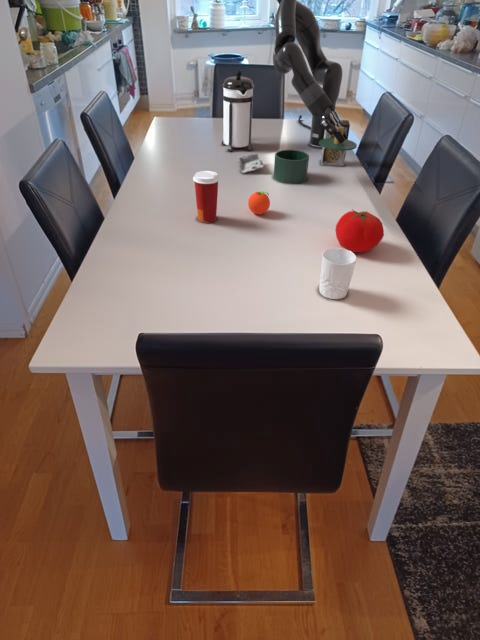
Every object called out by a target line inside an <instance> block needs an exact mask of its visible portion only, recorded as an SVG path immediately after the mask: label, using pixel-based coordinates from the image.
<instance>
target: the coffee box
mask: <svg viewBox="0 0 480 640" xmlns="http://www.w3.org/2000/svg"><path fill="white" fill-rule="evenodd" d="M340 121H341V123H342V127H344V132H345V134H346V135H347V140H349V134H350V127H351V124H350V120H347V119H340ZM332 130H333V129H332ZM326 138H335V136H333V135H330V134H329V133H328V132H327V131H326V130H325V132H324V139H326ZM321 149H322V150H321V157H320V163H321V164H320V165H321V166H332V167H344V166H345V161H346V154H347V150H346V151H336V150H330V149H327V148H324V147H323V148H321Z"/></svg>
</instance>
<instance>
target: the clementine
mask: <svg viewBox="0 0 480 640" xmlns="http://www.w3.org/2000/svg"><path fill="white" fill-rule="evenodd" d="M269 195H270V194H269V193H268V192H266V191H264V190H262V191H255V192H253V193H252V194H251V195H250V196H249V198H248V201H247V205H248V208H249V210H250V211H251V213H253V214H255V215H263V214H265V213H266V212H268V210H269V208H270V205H271V200H270V198H269Z"/></svg>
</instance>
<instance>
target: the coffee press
mask: <svg viewBox="0 0 480 640" xmlns="http://www.w3.org/2000/svg"><path fill="white" fill-rule="evenodd" d="M222 88H223V94H222V101H223V107H222V108H223V110H222V111H223V113H222V115H223V116H222V117H223V123H222V124H223V128H222V129H223V130H222V131H223V132H222V133H223V135H222V136H223V138H222V139H223V140H222V141H221V145H222V146H225V145H226V146H227V152H230V153H231V152H232V151H233V149H234V148H247V149H248V150H249V151H252V150H253V149H254V147H253V145H252V129H253V127H252V126H253V103H254V102H253V101H254V88H255V85H254V82H253V80H252V79H251V78H249V77H245V76H242V71H241V70H239V69H238V70H236V71H235V76H229V77H227V78H225V80H224V81H223V82H222Z"/></svg>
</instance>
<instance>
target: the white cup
mask: <svg viewBox="0 0 480 640" xmlns="http://www.w3.org/2000/svg"><path fill="white" fill-rule="evenodd" d="M357 258H358V257H357V256H356V254H355V252H352V251H349V250H346V249H345V248H343V247H330V248H327V249H325V250H324V251H322V253H321V262H320V263H321V264H320V274H319V287H318V290H319V293H320V295H322V296H323V297H325V298H327V299H331V300H341V299H343V298H345V297H346V296H347V294H348V290H349V287H350V285H351V281H352V278H353V274H354V270H355V267H356V263H357Z"/></svg>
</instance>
